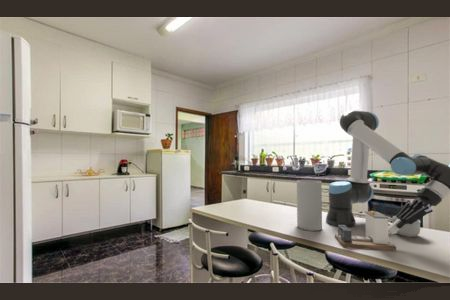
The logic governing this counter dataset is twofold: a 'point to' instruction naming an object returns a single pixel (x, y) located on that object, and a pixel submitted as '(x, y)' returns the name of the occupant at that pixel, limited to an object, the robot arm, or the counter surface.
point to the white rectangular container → (377, 227)
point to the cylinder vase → (309, 205)
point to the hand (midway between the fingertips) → (389, 231)
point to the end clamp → (345, 233)
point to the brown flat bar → (360, 238)
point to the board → (365, 244)
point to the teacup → (408, 228)
